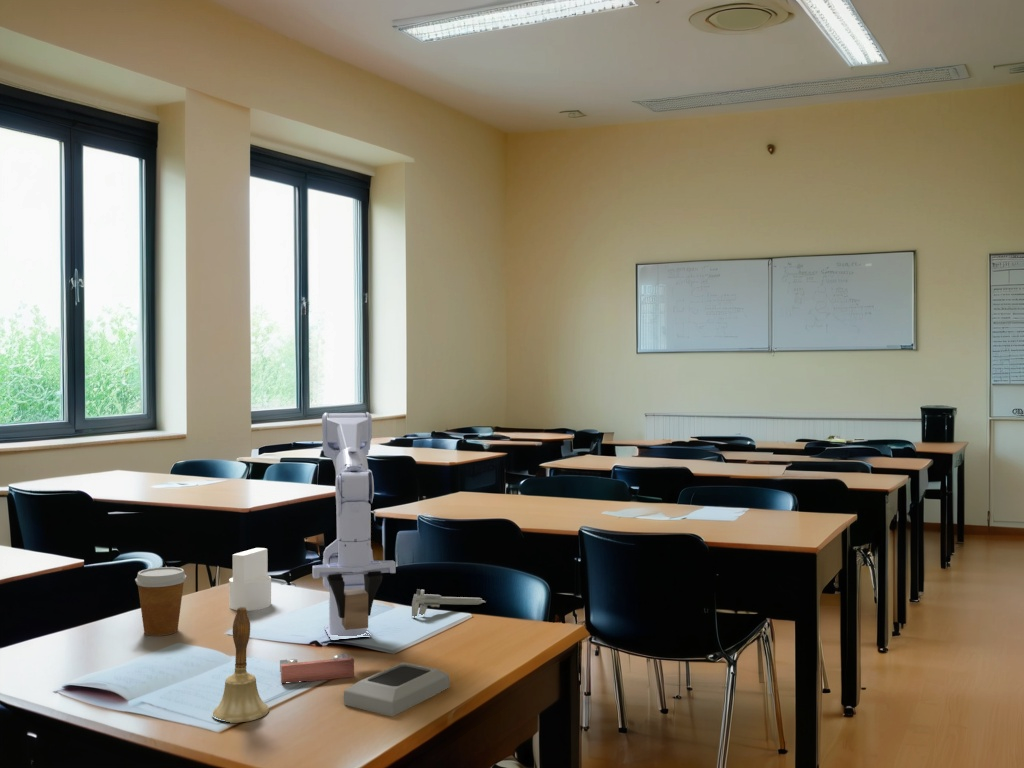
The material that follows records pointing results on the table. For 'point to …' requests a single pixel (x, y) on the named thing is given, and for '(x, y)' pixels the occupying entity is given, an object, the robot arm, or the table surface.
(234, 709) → the hand bell
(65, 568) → the table surface
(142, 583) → the disposable coffee cup
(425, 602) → the caliper
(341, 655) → the block
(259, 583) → the cylinder with rectangular tab
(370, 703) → the bevelled grey desktop device
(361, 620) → the block
